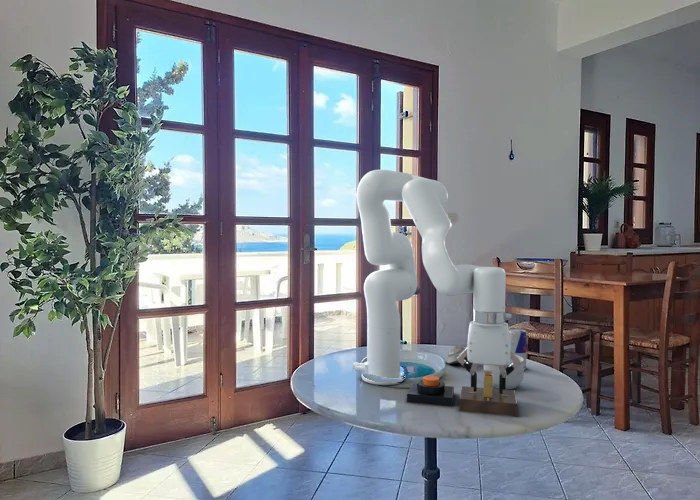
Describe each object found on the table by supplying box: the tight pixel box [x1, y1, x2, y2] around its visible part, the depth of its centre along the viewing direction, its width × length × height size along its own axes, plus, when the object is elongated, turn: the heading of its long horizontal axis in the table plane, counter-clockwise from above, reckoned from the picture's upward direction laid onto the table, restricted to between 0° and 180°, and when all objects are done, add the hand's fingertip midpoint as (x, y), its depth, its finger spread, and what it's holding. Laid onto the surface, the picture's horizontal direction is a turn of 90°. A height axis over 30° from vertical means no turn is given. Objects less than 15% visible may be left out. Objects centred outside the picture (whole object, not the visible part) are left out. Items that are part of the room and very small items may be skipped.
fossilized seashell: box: [444, 345, 472, 365], centre depth 159 cm, size 11×11×7 cm
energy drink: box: [509, 328, 528, 371], centre depth 155 cm, size 5×5×12 cm
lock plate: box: [459, 385, 518, 417], centre depth 122 cm, size 13×10×3 cm
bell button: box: [422, 375, 440, 386], centre depth 127 cm, size 4×4×2 cm
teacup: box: [483, 355, 525, 390], centre depth 139 cm, size 14×11×8 cm
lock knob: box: [483, 369, 493, 398], centre depth 121 cm, size 5×2×5 cm, turn 165°
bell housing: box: [406, 379, 455, 407], centre depth 127 cm, size 11×9×4 cm
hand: (487, 390), depth 121 cm, fingers open, 5 cm apart
